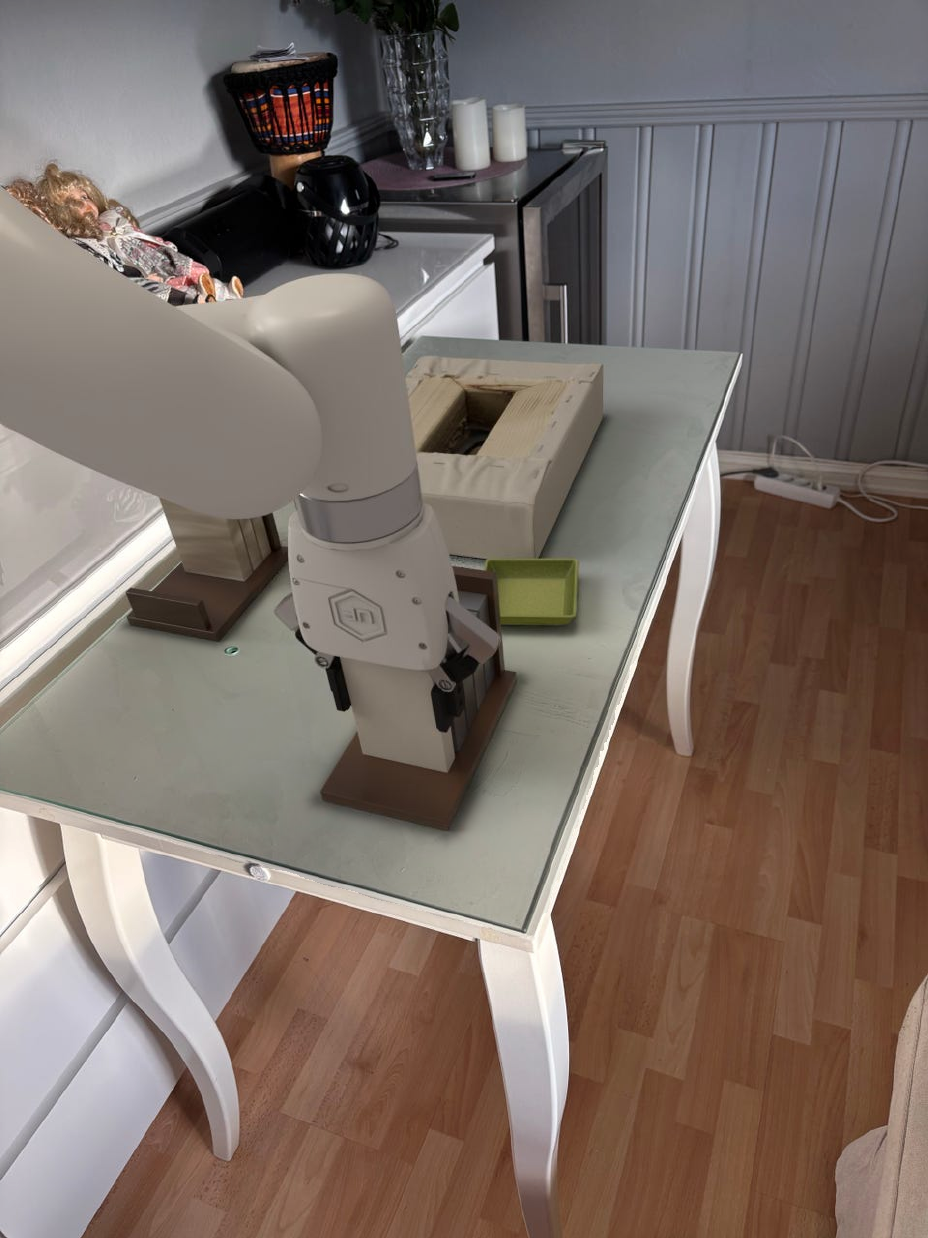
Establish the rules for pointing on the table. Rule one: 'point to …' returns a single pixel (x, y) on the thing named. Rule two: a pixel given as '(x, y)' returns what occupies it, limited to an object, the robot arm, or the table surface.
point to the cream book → (397, 715)
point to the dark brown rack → (209, 573)
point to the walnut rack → (486, 696)
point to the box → (500, 447)
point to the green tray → (536, 590)
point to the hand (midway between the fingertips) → (399, 706)
